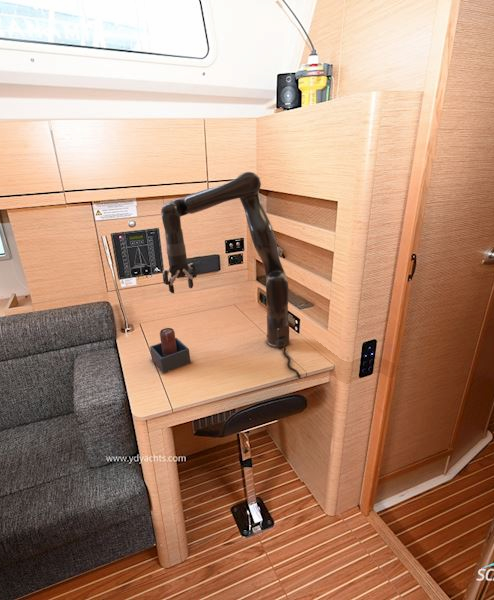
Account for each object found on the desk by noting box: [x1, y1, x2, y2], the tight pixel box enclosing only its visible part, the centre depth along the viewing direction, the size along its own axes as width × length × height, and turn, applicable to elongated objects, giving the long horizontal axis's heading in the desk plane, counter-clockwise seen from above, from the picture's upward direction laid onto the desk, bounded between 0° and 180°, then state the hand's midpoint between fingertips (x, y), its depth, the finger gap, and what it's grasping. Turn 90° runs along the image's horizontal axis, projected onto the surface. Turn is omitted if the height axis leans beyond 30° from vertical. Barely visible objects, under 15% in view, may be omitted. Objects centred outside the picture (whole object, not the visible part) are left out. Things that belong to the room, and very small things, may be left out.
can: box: [159, 327, 177, 357], centre depth 141 cm, size 6×6×14 cm
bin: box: [149, 337, 191, 374], centre depth 143 cm, size 13×13×7 cm
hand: (181, 290), depth 142 cm, fingers open, 8 cm apart
